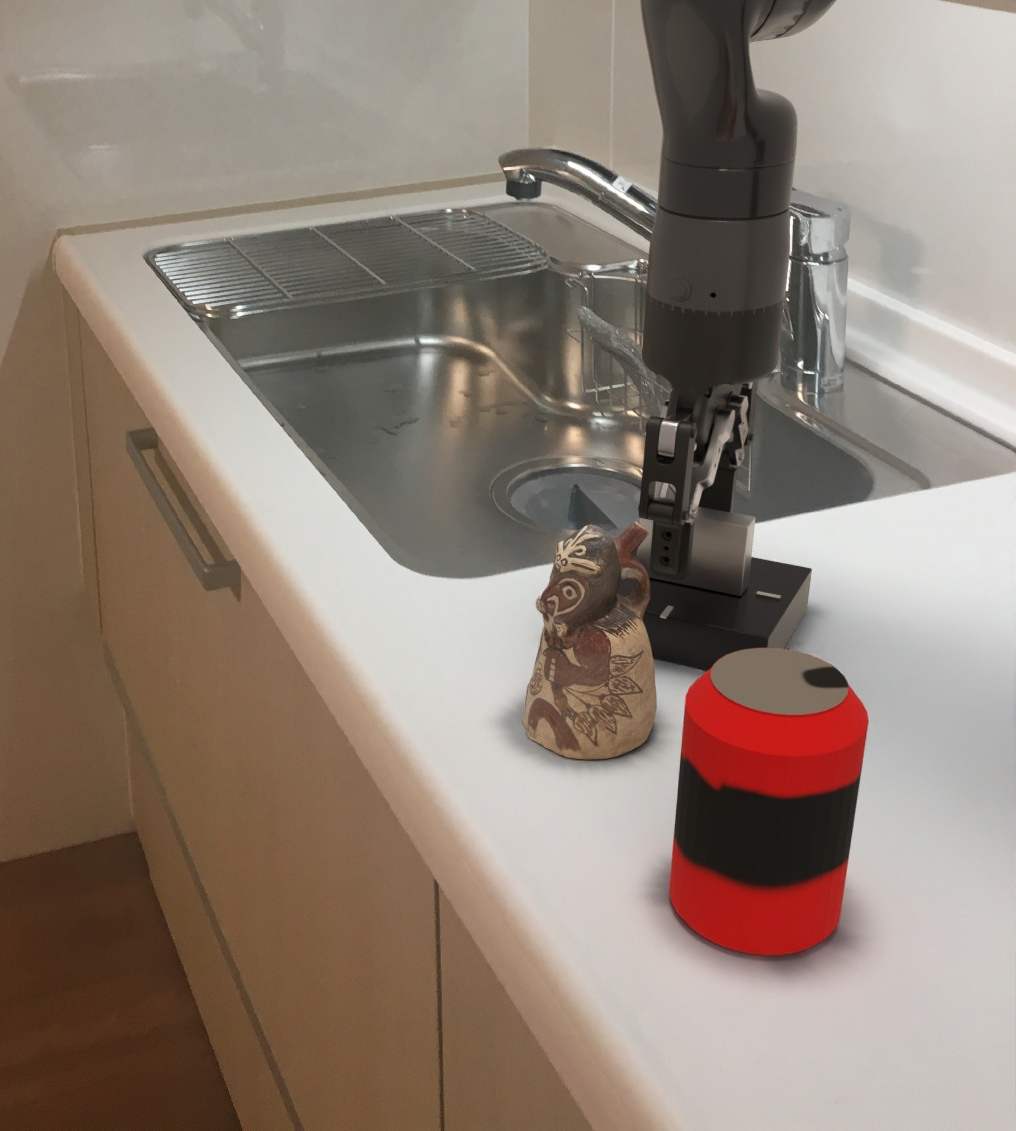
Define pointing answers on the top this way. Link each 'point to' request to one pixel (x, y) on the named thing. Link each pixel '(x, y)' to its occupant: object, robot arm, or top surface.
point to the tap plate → (724, 614)
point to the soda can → (766, 800)
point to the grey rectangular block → (713, 551)
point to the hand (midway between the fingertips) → (691, 547)
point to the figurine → (593, 650)
